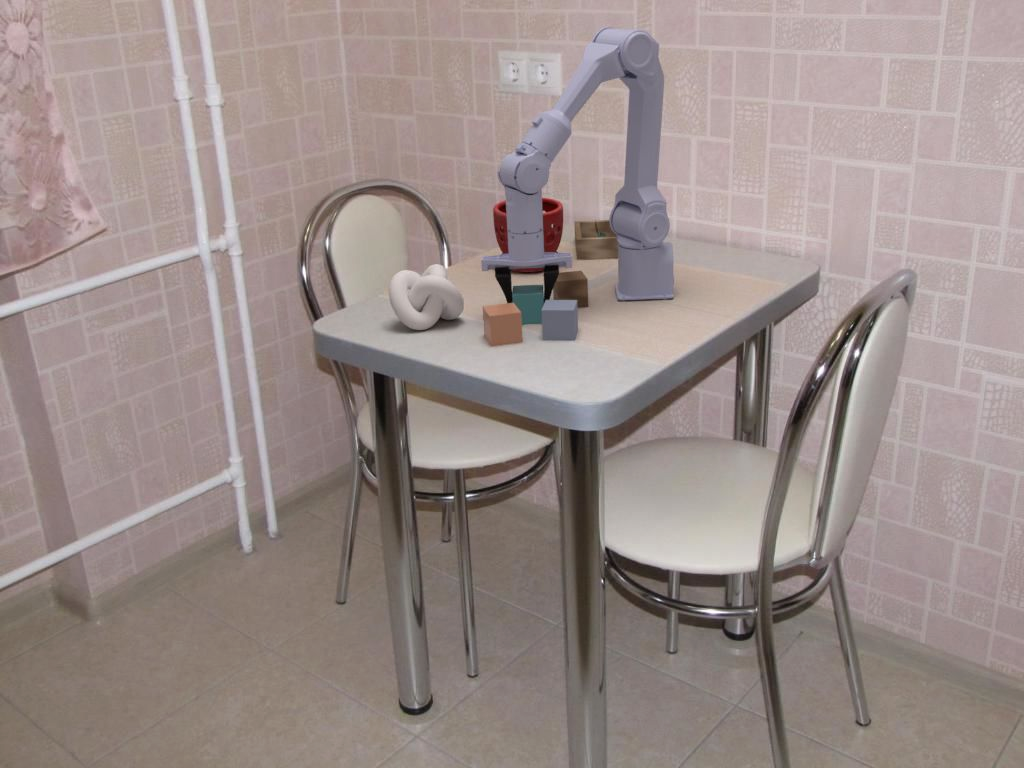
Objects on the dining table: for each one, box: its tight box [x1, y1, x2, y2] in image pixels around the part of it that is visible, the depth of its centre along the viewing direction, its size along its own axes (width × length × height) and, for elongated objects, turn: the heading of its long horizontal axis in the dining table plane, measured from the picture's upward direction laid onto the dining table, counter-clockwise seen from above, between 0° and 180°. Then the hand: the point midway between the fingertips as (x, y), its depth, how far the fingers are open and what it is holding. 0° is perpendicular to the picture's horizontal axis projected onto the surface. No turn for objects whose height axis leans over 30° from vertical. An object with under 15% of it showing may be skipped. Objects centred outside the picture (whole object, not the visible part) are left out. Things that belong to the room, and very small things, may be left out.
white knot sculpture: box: [388, 263, 465, 331], centre depth 173 cm, size 11×12×9 cm
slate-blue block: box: [541, 299, 579, 341], centre depth 166 cm, size 5×5×5 cm
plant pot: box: [492, 197, 564, 273], centre depth 200 cm, size 13×13×12 cm
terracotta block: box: [482, 302, 524, 347], centre depth 165 cm, size 5×5×5 cm
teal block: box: [512, 284, 544, 325], centre depth 173 cm, size 5×5×5 cm
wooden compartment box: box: [574, 219, 618, 260], centre depth 210 cm, size 14×14×4 cm
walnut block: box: [552, 270, 589, 309], centre depth 180 cm, size 5×5×5 cm
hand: (528, 310), depth 174 cm, fingers closed on teal block, 5 cm apart
